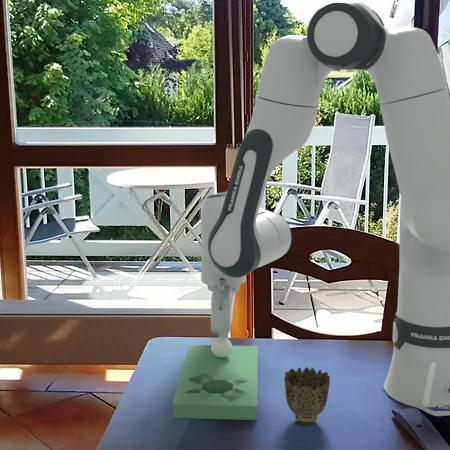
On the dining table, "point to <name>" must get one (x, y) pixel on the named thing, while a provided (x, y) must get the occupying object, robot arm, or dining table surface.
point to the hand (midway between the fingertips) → (223, 338)
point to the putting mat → (218, 384)
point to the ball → (221, 347)
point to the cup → (306, 393)
